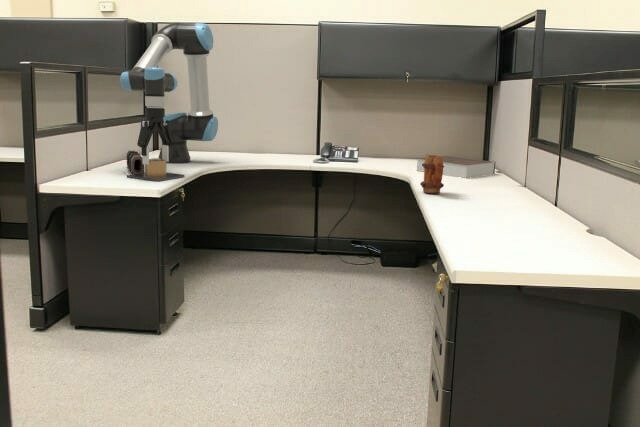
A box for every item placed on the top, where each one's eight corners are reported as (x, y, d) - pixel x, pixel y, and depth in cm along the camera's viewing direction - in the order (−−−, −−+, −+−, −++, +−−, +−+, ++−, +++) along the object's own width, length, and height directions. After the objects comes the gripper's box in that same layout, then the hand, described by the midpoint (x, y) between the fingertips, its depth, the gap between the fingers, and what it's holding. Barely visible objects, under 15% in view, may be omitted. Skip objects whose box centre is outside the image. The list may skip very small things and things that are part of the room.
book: (444, 168, 327) (445, 155, 326) (494, 175, 308) (495, 162, 306) (415, 172, 310) (416, 158, 309) (465, 179, 291) (466, 165, 289)
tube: (141, 172, 295) (149, 173, 267) (126, 176, 292) (133, 178, 265) (134, 149, 293) (142, 147, 265) (119, 152, 291) (126, 151, 263)
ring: (155, 173, 268) (154, 158, 267) (170, 174, 264) (170, 160, 263) (141, 175, 261) (141, 160, 260) (156, 177, 257) (156, 161, 256)
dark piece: (154, 173, 273) (153, 155, 272) (184, 177, 266) (184, 158, 265) (126, 177, 259) (126, 158, 258) (158, 181, 252) (157, 162, 251)
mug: (417, 190, 252) (420, 152, 249) (438, 191, 253) (441, 152, 250) (427, 197, 238) (429, 156, 235) (448, 197, 239) (451, 157, 236)
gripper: (167, 106, 269) (167, 159, 273) (126, 107, 249) (127, 164, 253) (181, 107, 266) (181, 160, 270) (141, 108, 245) (142, 166, 250)
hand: (155, 162), depth 262 cm, fingers open, 11 cm apart
